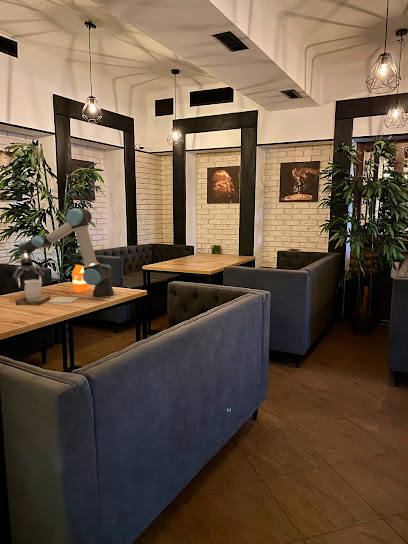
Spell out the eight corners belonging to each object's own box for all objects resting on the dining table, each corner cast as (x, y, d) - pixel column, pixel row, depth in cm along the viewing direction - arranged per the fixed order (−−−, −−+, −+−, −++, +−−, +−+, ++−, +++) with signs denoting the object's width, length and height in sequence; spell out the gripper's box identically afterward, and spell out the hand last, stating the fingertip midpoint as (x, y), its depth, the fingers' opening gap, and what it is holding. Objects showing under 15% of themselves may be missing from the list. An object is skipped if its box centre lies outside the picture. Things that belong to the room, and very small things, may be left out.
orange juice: (81, 289, 320) (80, 264, 317) (88, 290, 315) (87, 265, 312) (72, 290, 314) (71, 265, 311) (79, 291, 309) (78, 266, 306)
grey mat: (79, 298, 286) (79, 297, 286) (70, 303, 270) (70, 302, 270) (57, 297, 287) (57, 297, 287) (47, 302, 271) (47, 302, 271)
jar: (35, 304, 266) (34, 282, 264) (22, 303, 268) (20, 281, 266) (45, 300, 277) (44, 279, 275) (31, 300, 279) (30, 278, 277)
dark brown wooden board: (50, 299, 281) (50, 296, 280) (39, 305, 264) (39, 301, 263) (28, 299, 281) (28, 295, 281) (15, 304, 265) (15, 301, 264)
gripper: (44, 263, 294) (49, 287, 283) (6, 265, 281) (10, 290, 270) (45, 257, 288) (50, 280, 278) (6, 258, 276) (10, 283, 265)
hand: (30, 285), depth 274 cm, fingers open, 13 cm apart
